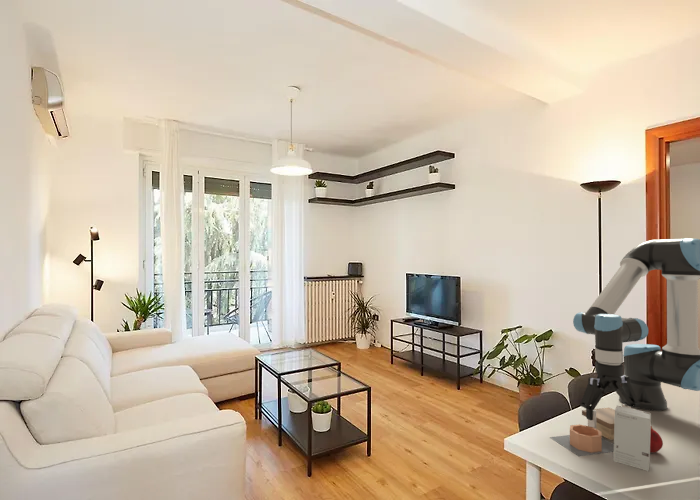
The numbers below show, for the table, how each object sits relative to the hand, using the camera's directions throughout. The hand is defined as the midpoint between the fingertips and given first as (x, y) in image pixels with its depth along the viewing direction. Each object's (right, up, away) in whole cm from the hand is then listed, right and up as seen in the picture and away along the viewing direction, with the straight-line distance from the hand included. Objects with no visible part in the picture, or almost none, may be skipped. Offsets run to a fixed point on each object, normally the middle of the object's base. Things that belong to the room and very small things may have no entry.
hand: (609, 427), depth 126 cm
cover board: (0, +2, 0) cm, 2 cm away
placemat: (-12, -3, -7) cm, 14 cm away
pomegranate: (+4, -3, -11) cm, 12 cm away
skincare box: (-5, -3, -17) cm, 18 cm away
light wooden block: (0, -3, 0) cm, 2 cm away
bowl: (-13, -2, -8) cm, 15 cm away
